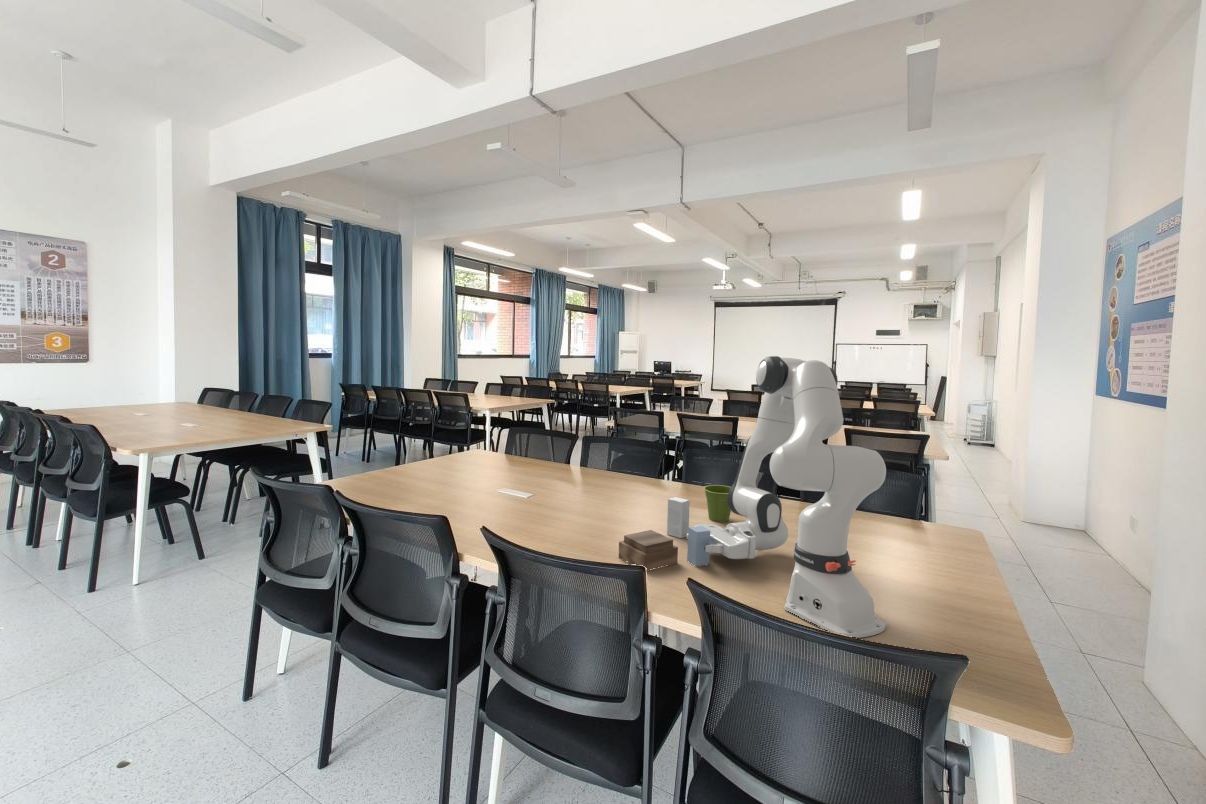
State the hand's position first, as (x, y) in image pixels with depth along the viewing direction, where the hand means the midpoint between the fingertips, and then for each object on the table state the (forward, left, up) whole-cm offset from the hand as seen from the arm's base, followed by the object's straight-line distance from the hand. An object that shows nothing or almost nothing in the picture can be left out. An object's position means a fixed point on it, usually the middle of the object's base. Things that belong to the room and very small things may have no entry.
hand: (696, 542), depth 155 cm
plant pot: (+34, -30, -6) cm, 46 cm away
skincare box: (+23, -7, -6) cm, 25 cm away
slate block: (0, -1, -6) cm, 6 cm away
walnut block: (+6, +12, -6) cm, 15 cm away
